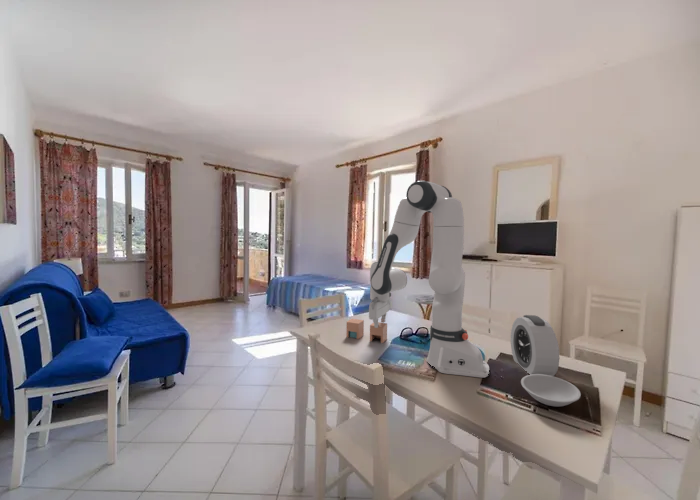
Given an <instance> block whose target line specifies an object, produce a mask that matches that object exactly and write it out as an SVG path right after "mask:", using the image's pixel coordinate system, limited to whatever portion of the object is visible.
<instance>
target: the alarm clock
mask: <svg viewBox="0 0 700 500" xmlns="http://www.w3.org/2000/svg"><path fill="white" fill-rule="evenodd" d="M511 326H512V327H511V329H510V348H511V355H512V358H513V361H514V362H515V363H516V364H517V363H518V364H519V365H520V366H521V367H522V368H523V369H524V370H525V371H527V373H529V374H530V375H531V374H544V375H550V376H554V377H555V375H556V374H557V372H558V370H559V366H560V365H559V364H560V346H559V342H558V338H557V336H556V333H555V331H554V328H553V327H552V325H551V324H550V323H549V322H548V321H547V320H545V318H541V317H539V316H538V315H532V314H525V315H523V316H522V317H521V316H519V317H516V319H515V320H514V321H513V323H512V325H511ZM518 364H517V365H518ZM519 365H518V366H519ZM520 366H519V367H520ZM521 367H520V368H521ZM522 368H521V369H522ZM523 369H522V370H523ZM524 370H523V371H524ZM525 371H524V372H525ZM527 373H526V374H527Z"/></svg>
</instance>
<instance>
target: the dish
mask: <svg viewBox="0 0 700 500" xmlns="http://www.w3.org/2000/svg"><path fill="white" fill-rule="evenodd" d="M520 384H521V386H522V388H523V389H524V390H525V391H526V392H527V393H528V394H529V395H530V396H531V397H532V398H533V399H534V400H536V401H537V402H539V403H541V404H543V405H545V406H551V407H556V408H557V407H564V406H565V407H566V406H568V405H570V404H572V403H574V402H577V401H579V399H581V395H582V393H581V391H580V389H579V388H578V387H577V386H576V385H574V384H572V383H571V382H569V381H568V380H565V379H563V378H560V377H557V376H555V375H554V376H550V375H544V374H531V375H528V374H527V375H525V376H523V377H522V378H521V380H520Z"/></svg>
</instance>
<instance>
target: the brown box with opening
mask: <svg viewBox="0 0 700 500" xmlns="http://www.w3.org/2000/svg"><path fill="white" fill-rule="evenodd" d="M378 323H379V327H378V328H375V327H374V322H372V323H371V324H370V325H369V341H370V342H373V340H374V339H375V338H377V339H380V344H384V343H385V342H386V341H387V340H388V323H387V322H384V323H383V322H381V321H380V322H379V321H378Z"/></svg>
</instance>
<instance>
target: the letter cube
mask: <svg viewBox="0 0 700 500" xmlns="http://www.w3.org/2000/svg"><path fill="white" fill-rule="evenodd" d="M349 338H353V339H354V338H355V339H357V332H352V331H350V336H349Z"/></svg>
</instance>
